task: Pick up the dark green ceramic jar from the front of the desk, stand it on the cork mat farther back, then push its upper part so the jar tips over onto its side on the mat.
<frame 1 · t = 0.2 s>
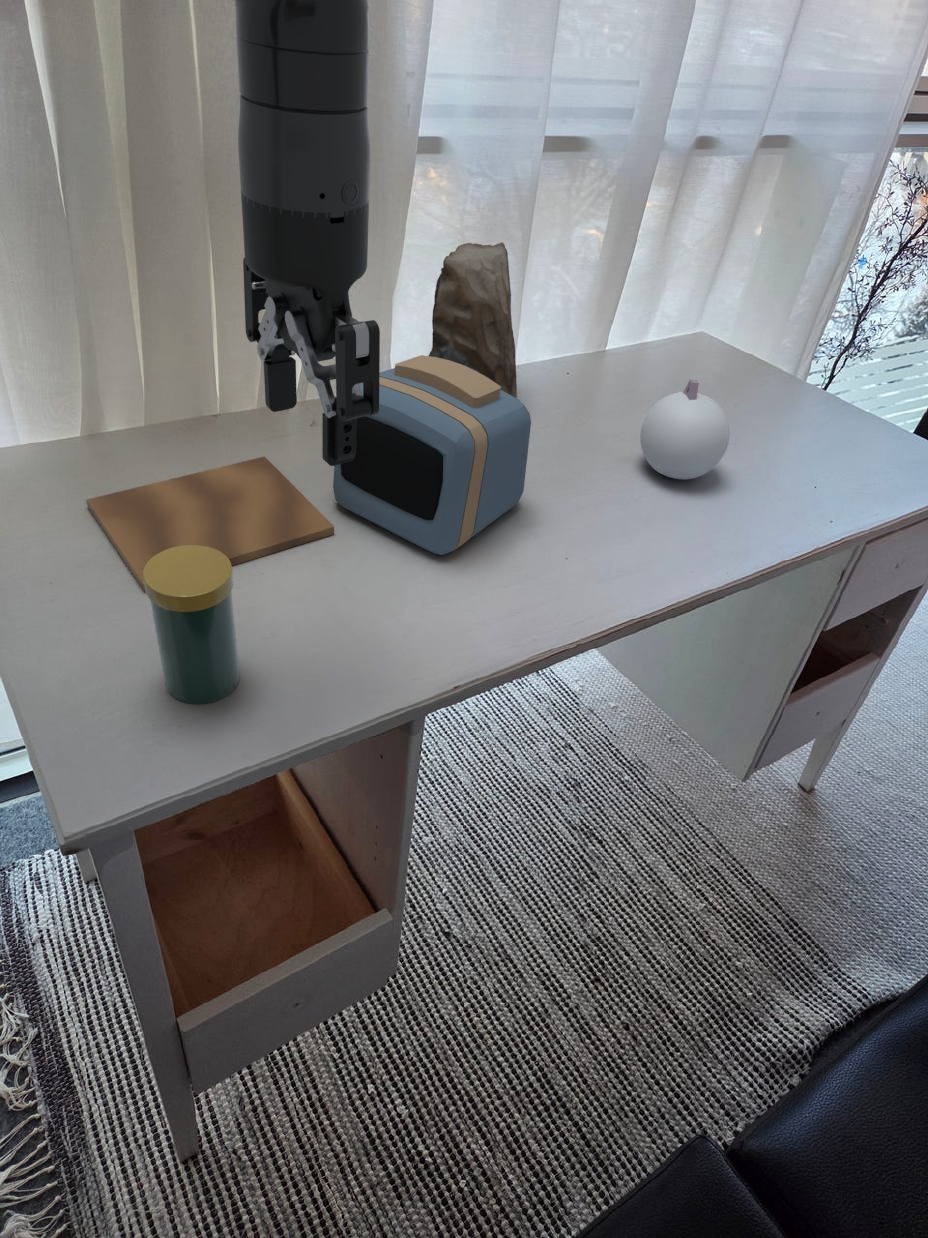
hand: (309, 433, 60), 22 cm above the table, tool pointing down, fingers open, 8 cm apart
jar: (202, 678, 70), on the table
ornament: (672, 473, 106), on the table
cork mat: (211, 521, 87), on the table
jagged brown rock: (471, 413, 112), on the table
alarm clock: (428, 506, 94), on the table
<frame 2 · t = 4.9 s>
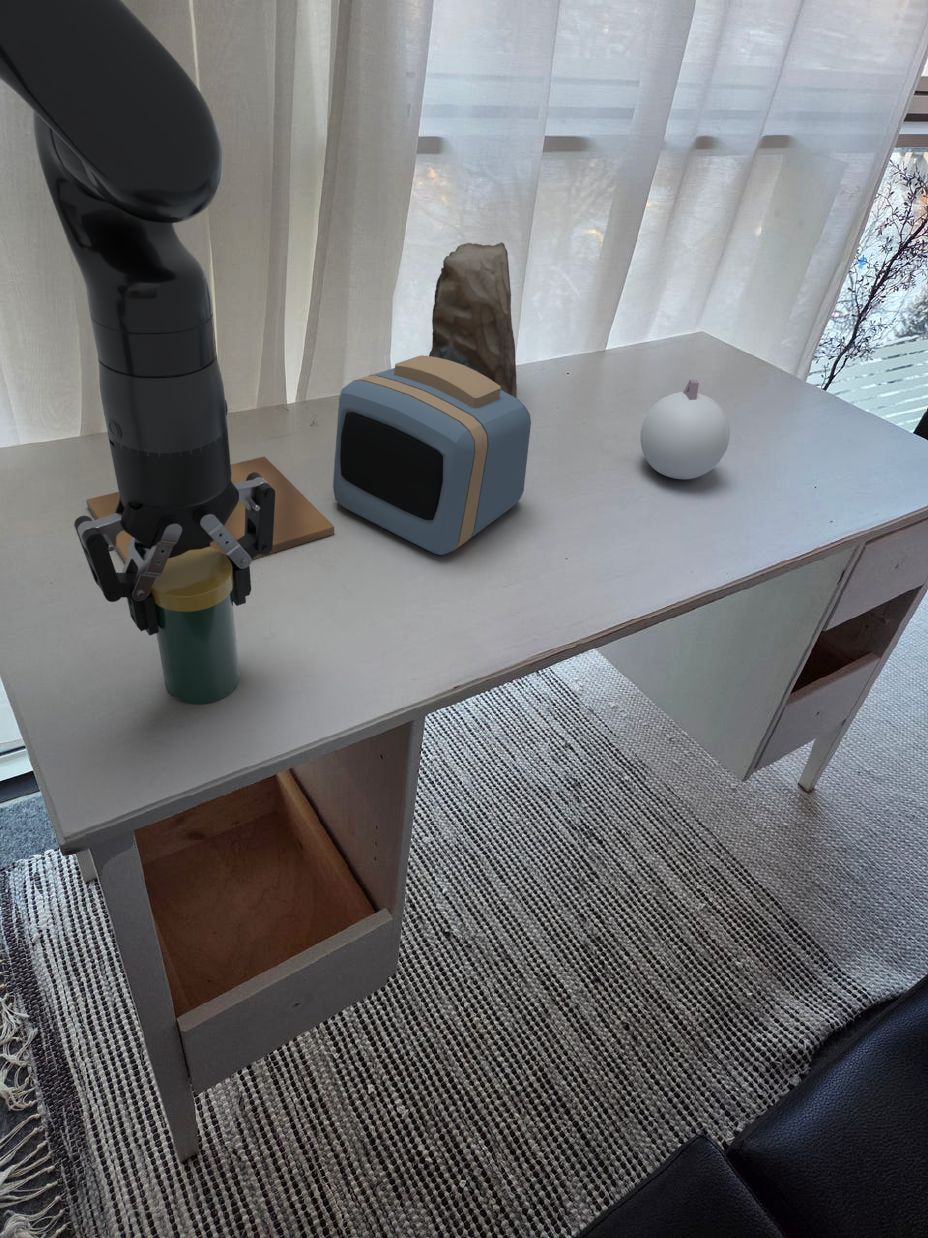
hand: (193, 612, 66), 7 cm above the table, tool pointing down, fingers closed on jar, 6 cm apart
jar: (202, 678, 70), on the table, touching gripper
everything else where it was.
when the fingers open (8 cm above the table, at t = 12.0 s): jar stays where it is, resting on cork mat.
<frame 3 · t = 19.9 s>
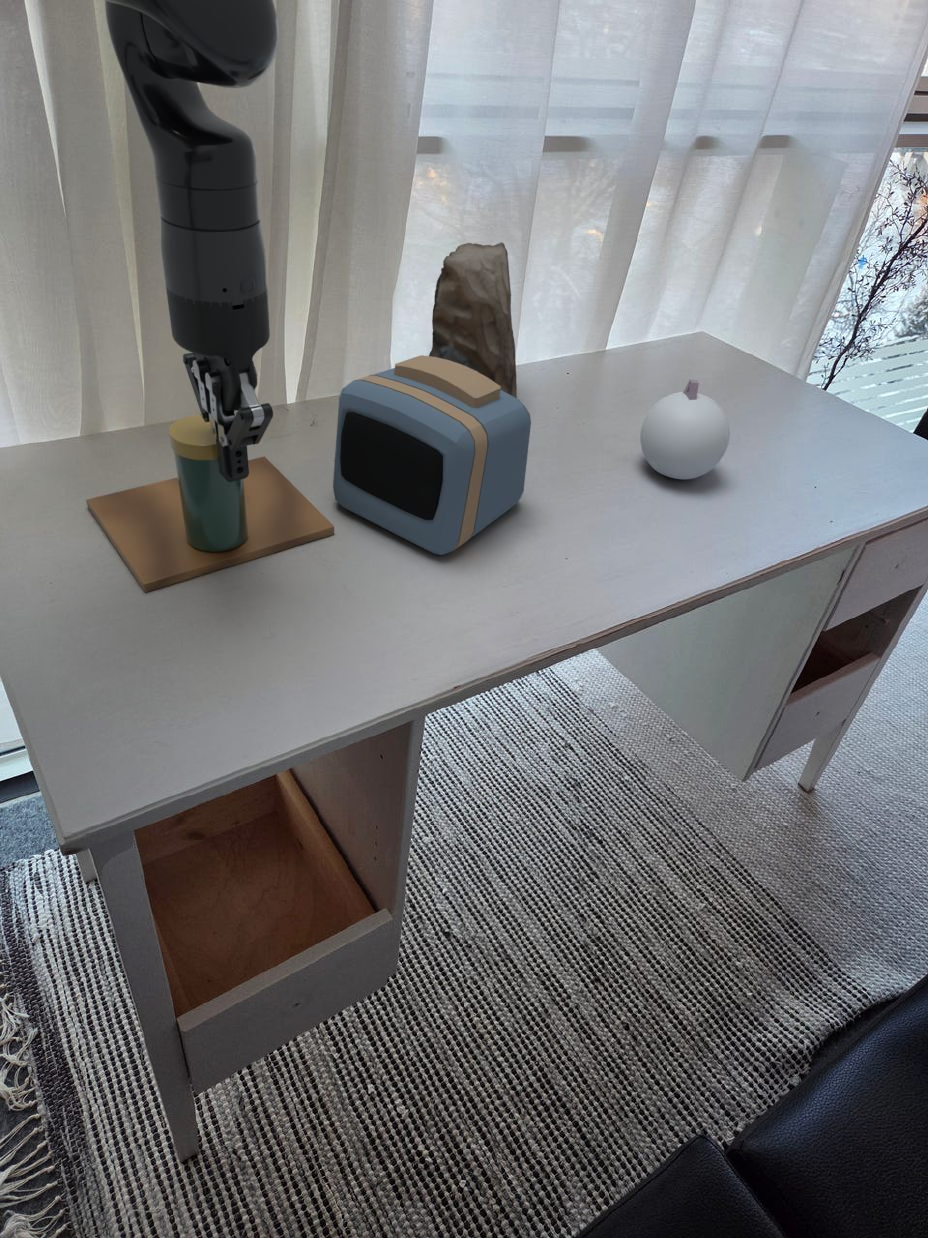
hand: (234, 476, 75), 10 cm above the table, tool pointing down, fingers closed
jar: (217, 534, 84), point 1 cm above the table, touching cork mat, gripper
everything else where it was.
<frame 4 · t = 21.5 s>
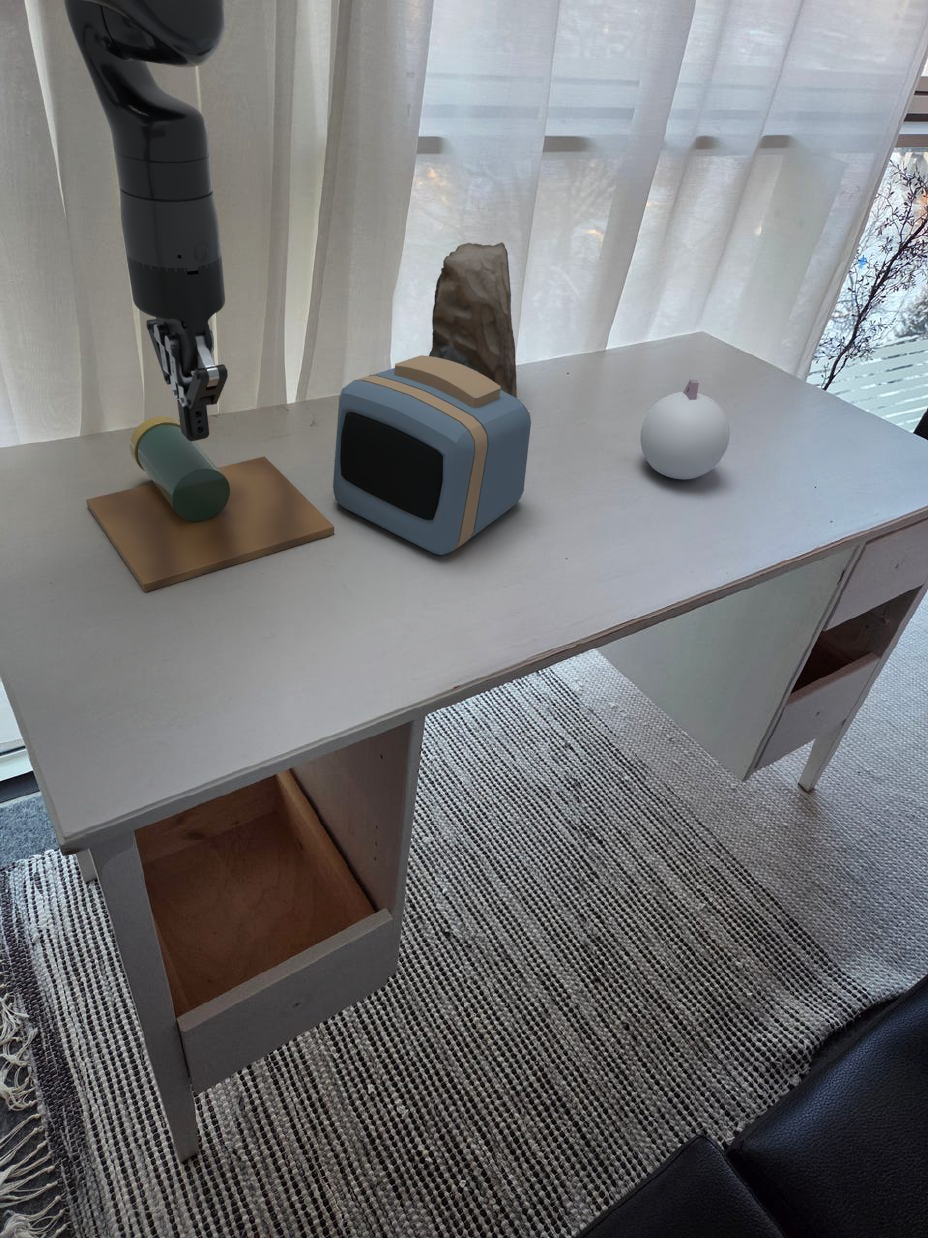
hand: (195, 436, 80), 10 cm above the table, tool pointing down, fingers closed
jar: (201, 495, 84), point 4 cm above the table, tilted 90°, touching cork mat
everything else where it was.
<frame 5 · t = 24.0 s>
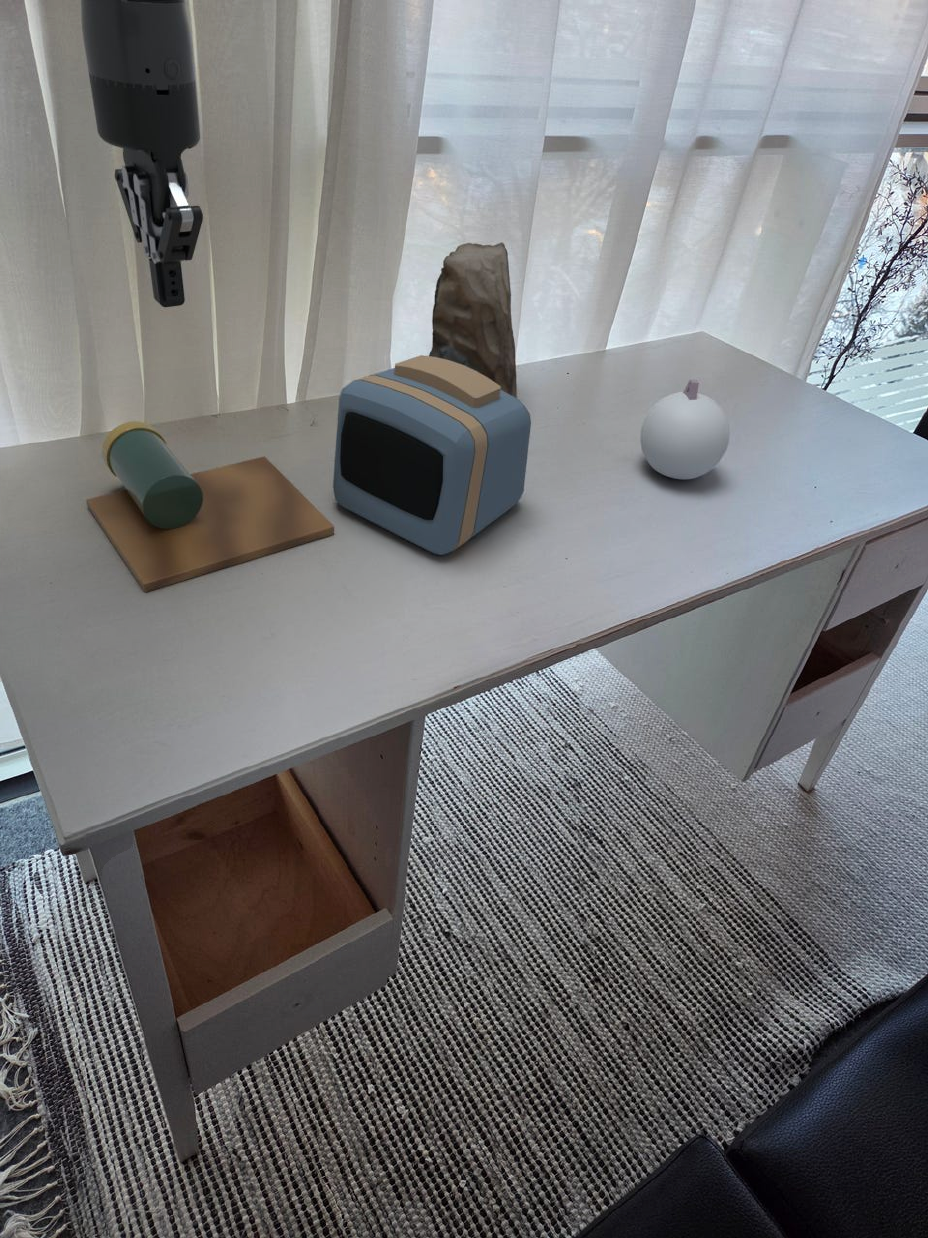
hand: (170, 303, 73), 22 cm above the table, tool pointing down, fingers closed
jar: (173, 502, 82), point 4 cm above the table, tilted 90°, touching cork mat
everything else where it was.
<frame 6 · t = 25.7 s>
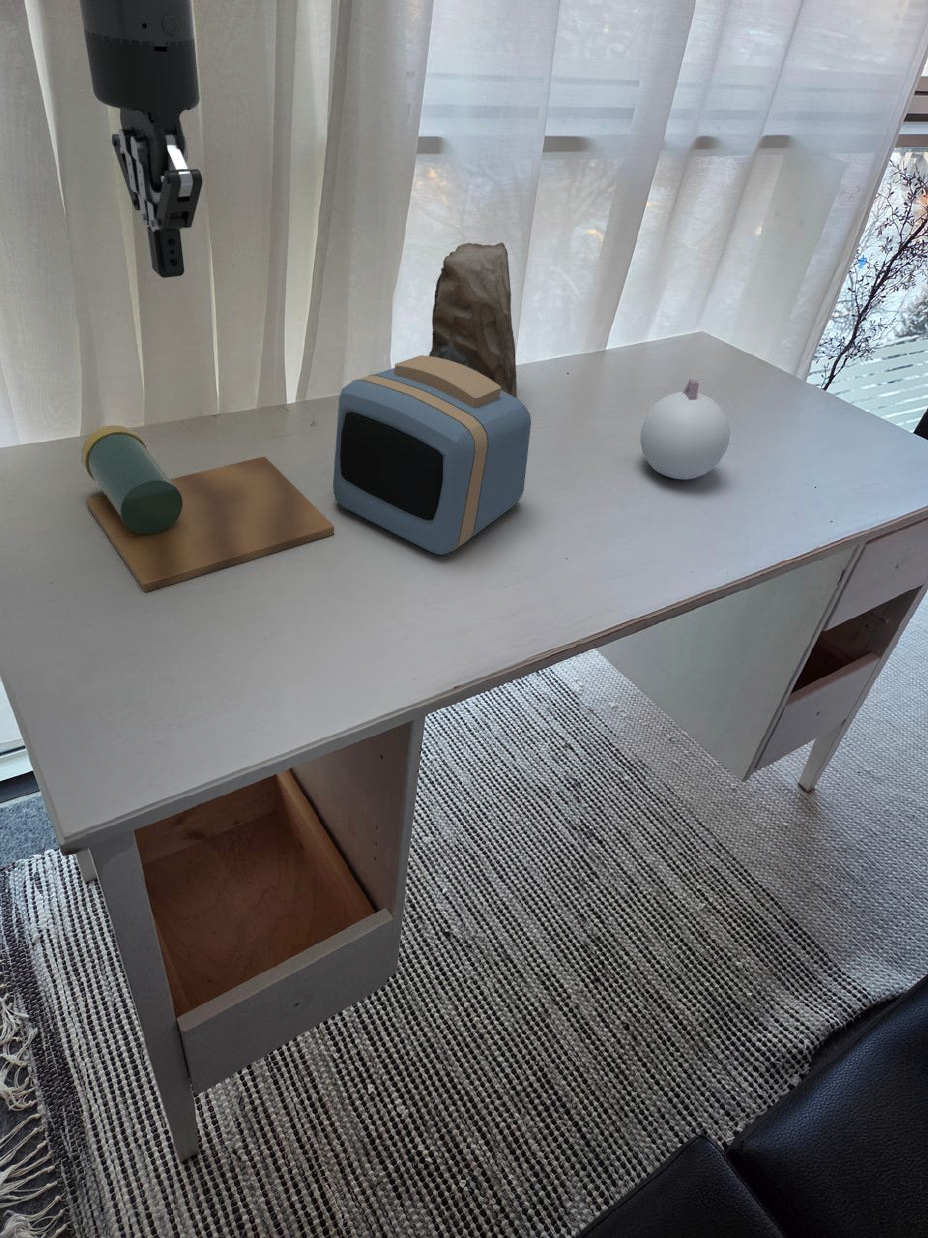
hand: (169, 273, 71), 25 cm above the table, tool pointing down, fingers closed
jar: (152, 508, 81), point 4 cm above the table, tilted 90°, touching cork mat
everything else where it was.
at the end: jar tilted 90°; jar inside the target area on the cork mat (6.3 cm from its centre), point 4.0 cm above the cork mat's base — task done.
